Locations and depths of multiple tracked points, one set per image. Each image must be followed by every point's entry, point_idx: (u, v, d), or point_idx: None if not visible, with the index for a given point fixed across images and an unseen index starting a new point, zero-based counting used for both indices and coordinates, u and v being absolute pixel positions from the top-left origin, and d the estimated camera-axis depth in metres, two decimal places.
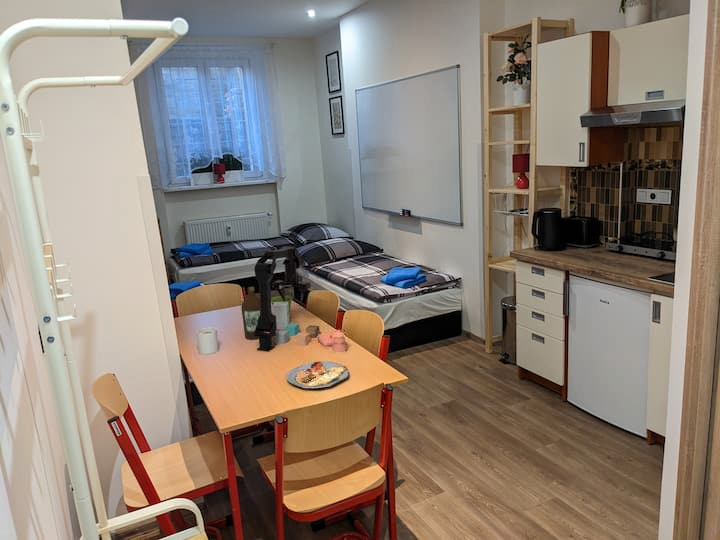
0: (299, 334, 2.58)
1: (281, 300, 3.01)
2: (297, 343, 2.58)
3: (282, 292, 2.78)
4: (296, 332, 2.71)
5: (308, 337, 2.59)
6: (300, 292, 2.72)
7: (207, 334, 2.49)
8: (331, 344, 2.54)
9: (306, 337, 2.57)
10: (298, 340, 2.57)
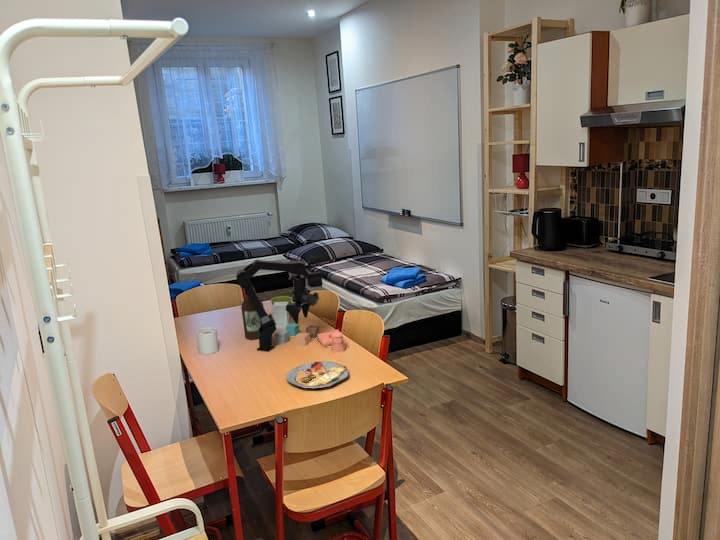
0: (299, 334, 2.58)
1: (281, 300, 3.01)
2: (297, 343, 2.58)
3: (303, 307, 2.61)
4: (296, 332, 2.71)
5: (308, 337, 2.59)
6: None
7: (207, 334, 2.49)
8: (330, 344, 2.55)
9: (306, 337, 2.57)
10: (298, 340, 2.57)
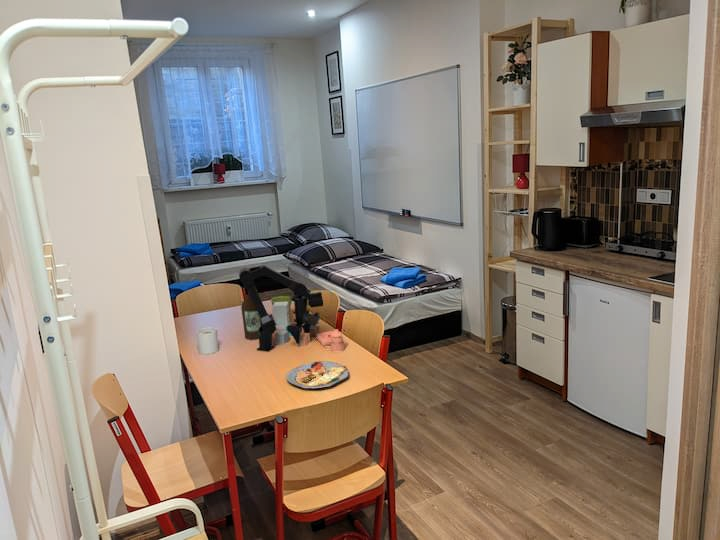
0: None
1: (281, 300, 3.01)
2: None
3: (304, 327, 2.63)
4: None
5: (308, 337, 2.59)
6: None
7: (207, 334, 2.49)
8: (329, 343, 2.55)
9: (307, 337, 2.57)
10: None
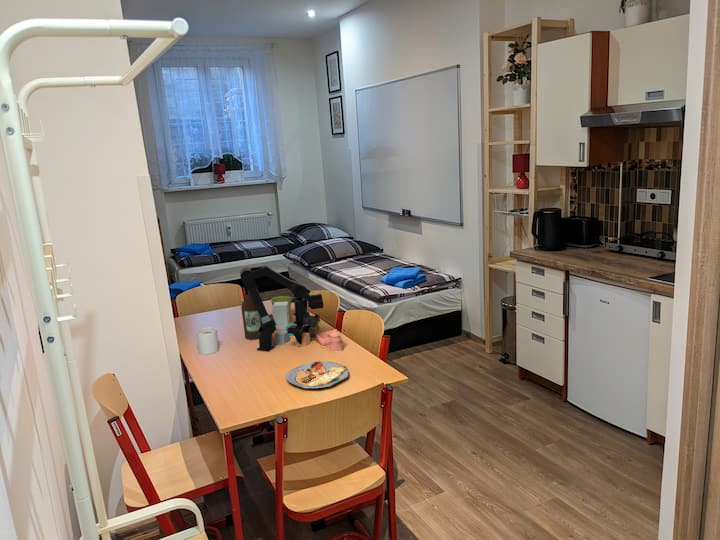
0: None
1: (281, 300, 3.01)
2: (297, 343, 2.58)
3: (303, 330, 2.61)
4: None
5: (308, 337, 2.59)
6: None
7: (207, 334, 2.49)
8: (328, 343, 2.56)
9: (306, 337, 2.57)
10: None
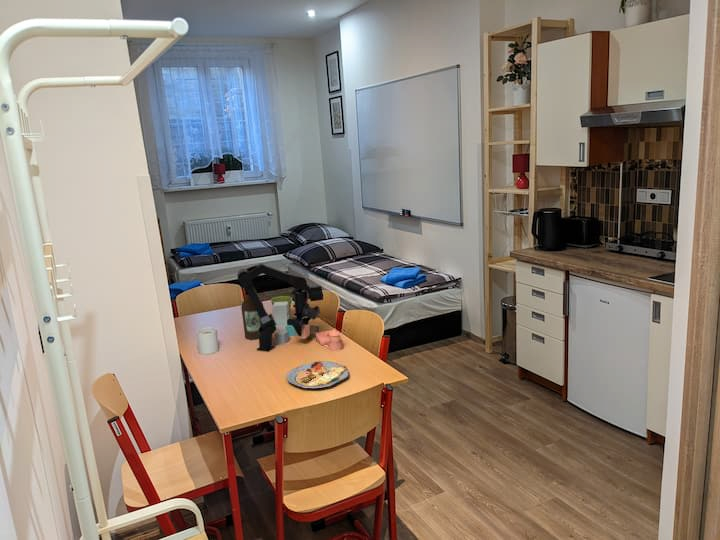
0: None
1: (281, 300, 3.01)
2: (297, 335, 2.57)
3: (302, 322, 2.60)
4: None
5: (308, 329, 2.58)
6: None
7: (207, 334, 2.49)
8: (327, 342, 2.56)
9: (306, 329, 2.56)
10: None
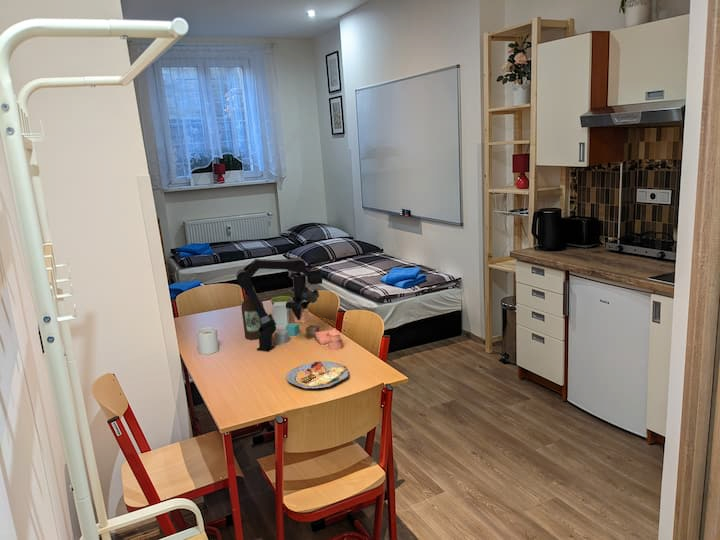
0: None
1: (281, 300, 3.01)
2: (296, 319, 2.55)
3: (301, 306, 2.59)
4: (296, 332, 2.71)
5: (307, 313, 2.56)
6: None
7: (207, 334, 2.49)
8: (327, 342, 2.57)
9: (305, 312, 2.55)
10: None
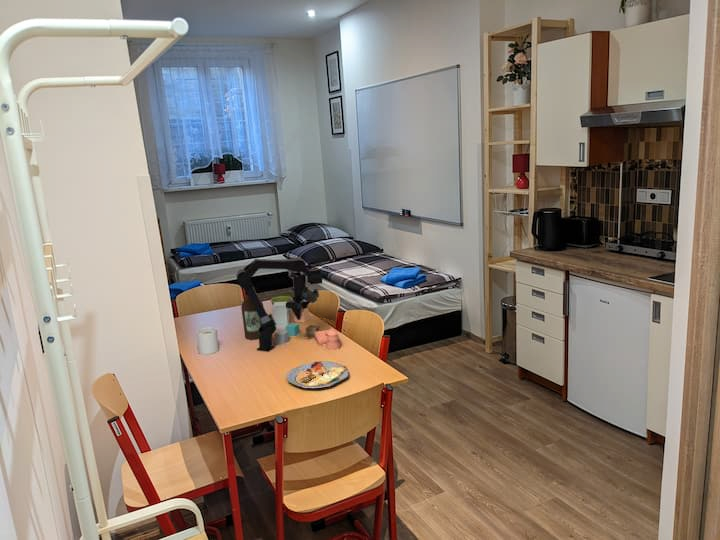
0: None
1: (281, 300, 3.01)
2: (296, 318, 2.55)
3: (301, 306, 2.59)
4: (296, 332, 2.71)
5: (307, 312, 2.56)
6: None
7: (207, 334, 2.49)
8: (326, 342, 2.57)
9: (305, 312, 2.55)
10: None
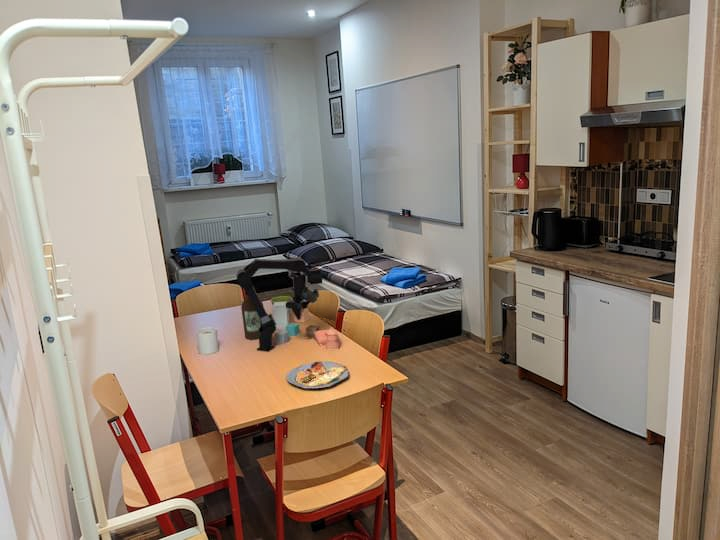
0: None
1: (281, 300, 3.01)
2: (296, 318, 2.55)
3: (301, 306, 2.59)
4: (296, 332, 2.71)
5: (307, 312, 2.56)
6: None
7: (207, 334, 2.49)
8: (325, 341, 2.58)
9: (305, 312, 2.55)
10: None
